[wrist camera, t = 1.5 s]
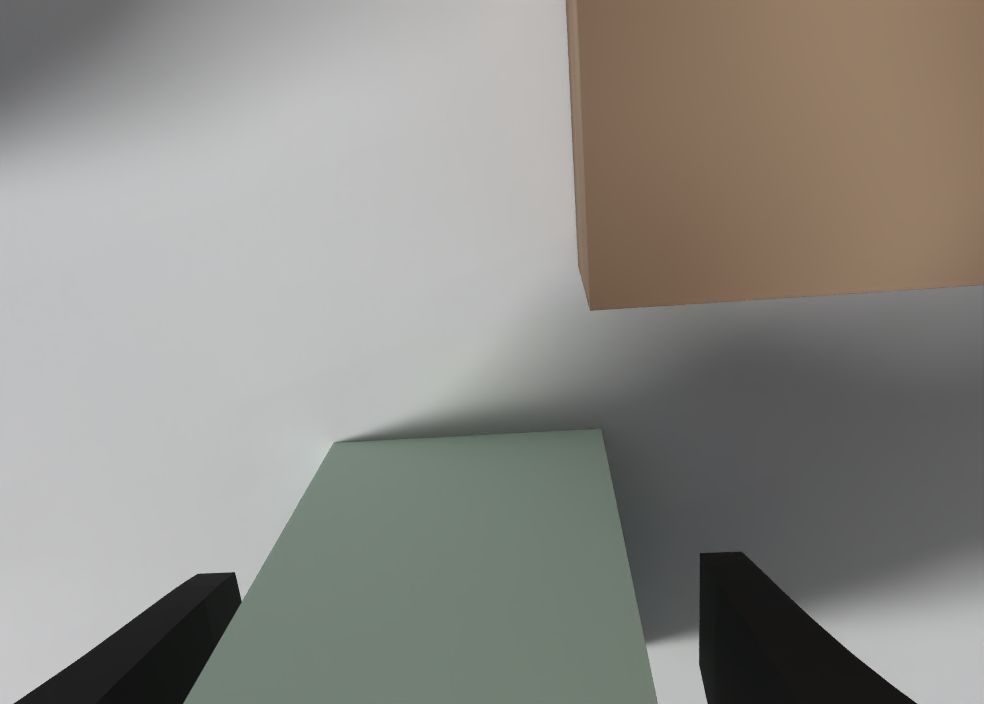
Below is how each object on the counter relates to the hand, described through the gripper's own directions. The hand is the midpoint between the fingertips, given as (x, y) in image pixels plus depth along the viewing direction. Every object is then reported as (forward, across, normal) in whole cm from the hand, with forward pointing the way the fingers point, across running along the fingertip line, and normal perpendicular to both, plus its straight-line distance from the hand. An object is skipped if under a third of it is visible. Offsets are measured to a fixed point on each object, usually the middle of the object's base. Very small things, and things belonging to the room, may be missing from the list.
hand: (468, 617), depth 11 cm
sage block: (+2, 0, 0) cm, 2 cm away
